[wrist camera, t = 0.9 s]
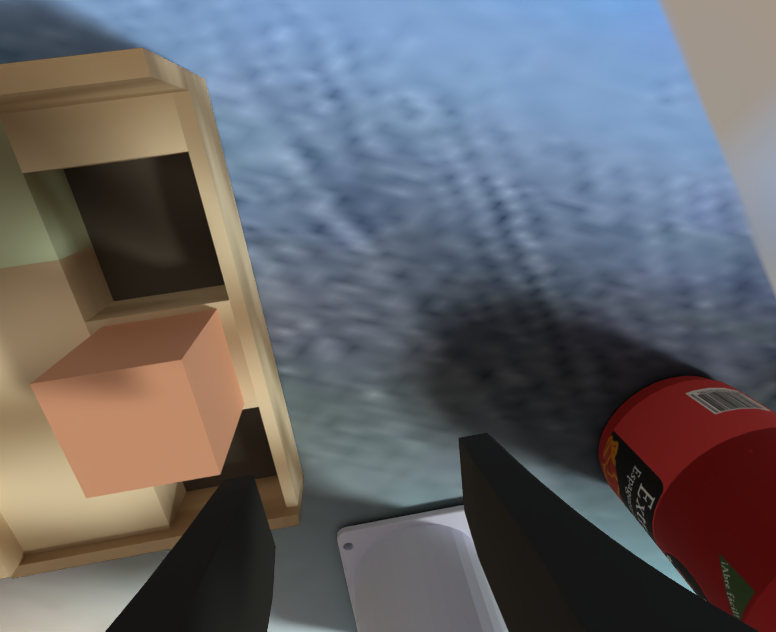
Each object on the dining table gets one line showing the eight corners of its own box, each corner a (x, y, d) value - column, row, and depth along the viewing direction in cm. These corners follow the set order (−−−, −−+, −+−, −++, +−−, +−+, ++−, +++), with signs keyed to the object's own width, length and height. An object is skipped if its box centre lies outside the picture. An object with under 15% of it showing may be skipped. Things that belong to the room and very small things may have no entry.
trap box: (303, 477, 22) (295, 577, 17) (53, 522, 21) (-34, 640, 16) (205, 79, 15) (142, 47, 10) (-165, 124, 14) (-428, 113, 9)
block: (244, 403, 17) (220, 474, 14) (139, 421, 17) (85, 498, 13) (217, 308, 16) (181, 359, 12) (101, 326, 15) (29, 384, 12)
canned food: (567, 433, 23) (757, 667, 13) (703, 339, 22) (1033, 514, 11) (630, 514, 25) (828, 760, 15) (754, 435, 24) (1057, 644, 14)
